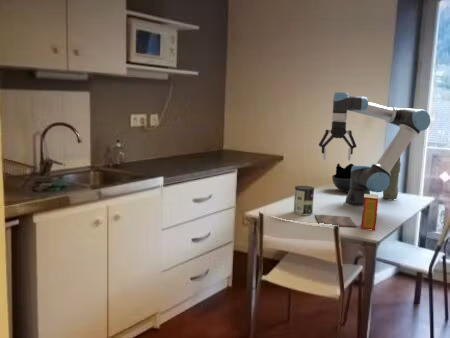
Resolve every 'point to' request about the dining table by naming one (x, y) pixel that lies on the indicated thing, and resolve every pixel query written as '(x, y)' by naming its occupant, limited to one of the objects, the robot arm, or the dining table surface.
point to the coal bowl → (342, 177)
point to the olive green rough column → (393, 182)
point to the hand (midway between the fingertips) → (336, 159)
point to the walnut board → (336, 220)
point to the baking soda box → (369, 211)
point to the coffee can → (303, 200)
